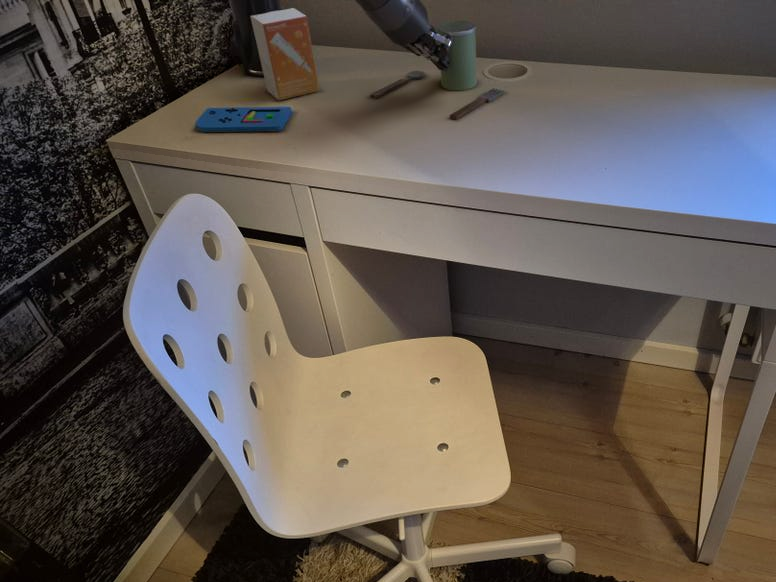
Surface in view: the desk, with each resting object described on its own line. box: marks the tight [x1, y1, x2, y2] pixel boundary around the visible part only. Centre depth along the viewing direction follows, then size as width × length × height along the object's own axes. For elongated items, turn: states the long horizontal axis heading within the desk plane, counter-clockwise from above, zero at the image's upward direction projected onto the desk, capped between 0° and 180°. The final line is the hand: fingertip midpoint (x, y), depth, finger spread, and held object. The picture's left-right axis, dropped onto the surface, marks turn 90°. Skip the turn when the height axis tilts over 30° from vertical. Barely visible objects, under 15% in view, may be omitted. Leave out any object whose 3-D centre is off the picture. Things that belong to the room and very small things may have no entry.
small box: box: [250, 7, 320, 101], centre depth 119 cm, size 8×6×13 cm
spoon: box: [369, 70, 425, 100], centre depth 124 cm, size 14×3×1 cm, turn 146°
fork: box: [449, 87, 505, 121], centre depth 116 cm, size 14×2×1 cm, turn 146°
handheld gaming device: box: [194, 106, 293, 133], centre depth 113 cm, size 8×1×15 cm
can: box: [437, 20, 478, 91], centre depth 121 cm, size 7×7×10 cm
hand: (445, 65), depth 119 cm, fingers closed
